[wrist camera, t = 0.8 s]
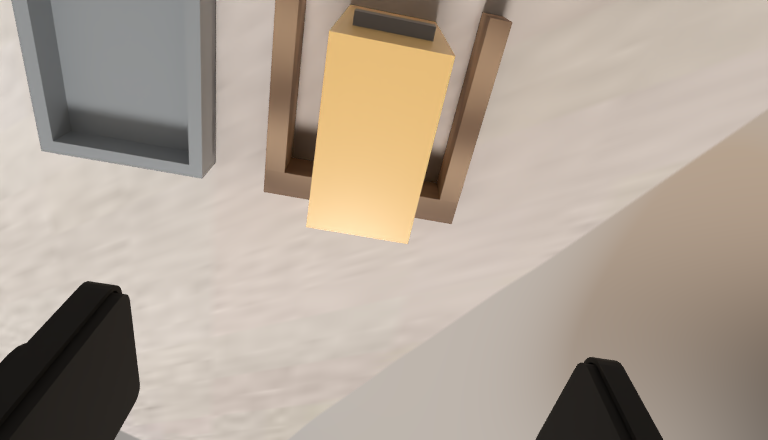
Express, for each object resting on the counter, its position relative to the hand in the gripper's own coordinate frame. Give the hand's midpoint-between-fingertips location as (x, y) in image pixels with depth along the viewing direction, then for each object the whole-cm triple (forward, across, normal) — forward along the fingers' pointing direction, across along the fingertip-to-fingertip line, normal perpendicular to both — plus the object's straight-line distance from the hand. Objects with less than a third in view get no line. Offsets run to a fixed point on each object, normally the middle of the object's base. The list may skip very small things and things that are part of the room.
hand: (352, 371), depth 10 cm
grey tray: (+22, +15, 0) cm, 27 cm away
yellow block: (+22, 0, 0) cm, 22 cm away
